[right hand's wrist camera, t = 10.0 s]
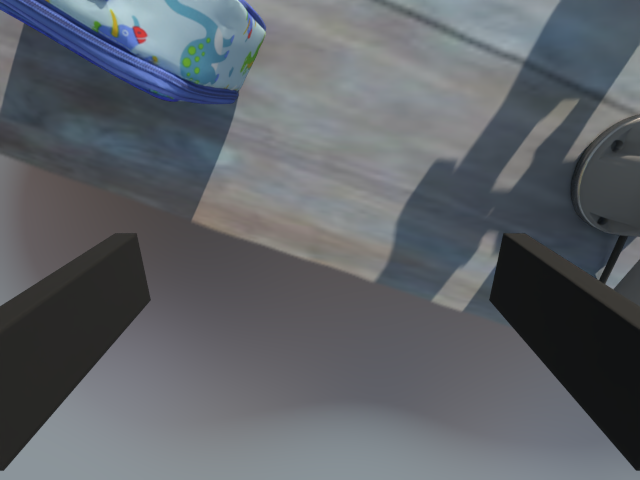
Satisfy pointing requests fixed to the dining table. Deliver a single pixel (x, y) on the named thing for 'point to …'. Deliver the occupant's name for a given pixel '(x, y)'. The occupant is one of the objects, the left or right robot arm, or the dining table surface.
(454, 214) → the dining table surface
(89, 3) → the lunch box
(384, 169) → the dining table surface
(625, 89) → the dining table surface
